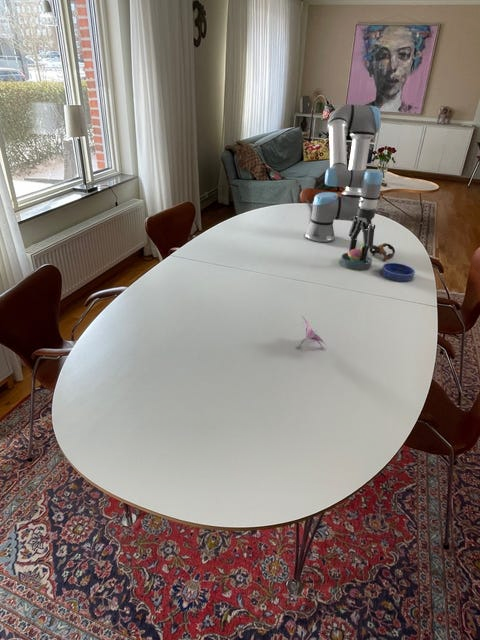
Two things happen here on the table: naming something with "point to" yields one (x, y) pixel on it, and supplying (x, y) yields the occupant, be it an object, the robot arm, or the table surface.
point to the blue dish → (397, 272)
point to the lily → (311, 334)
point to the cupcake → (355, 255)
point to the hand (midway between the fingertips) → (356, 256)
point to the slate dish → (357, 266)
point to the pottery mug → (382, 251)
